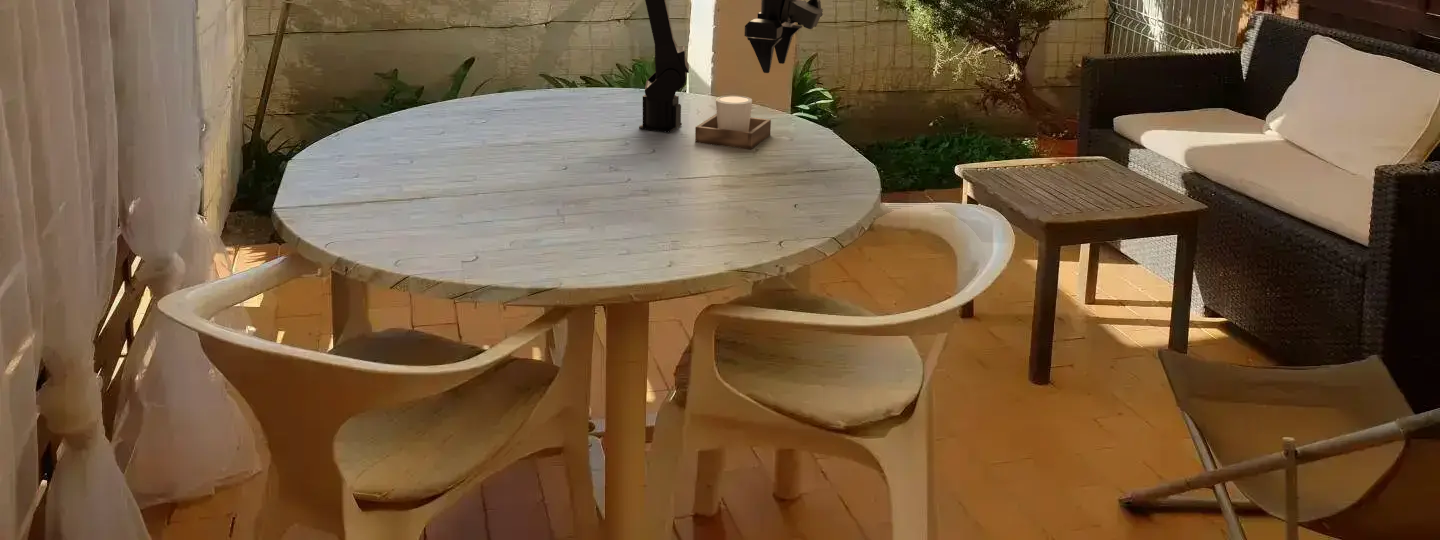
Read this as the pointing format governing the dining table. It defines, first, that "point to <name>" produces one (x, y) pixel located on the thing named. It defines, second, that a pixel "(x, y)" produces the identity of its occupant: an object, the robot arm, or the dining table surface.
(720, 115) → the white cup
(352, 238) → the dining table surface
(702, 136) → the walnut crate
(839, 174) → the dining table surface
